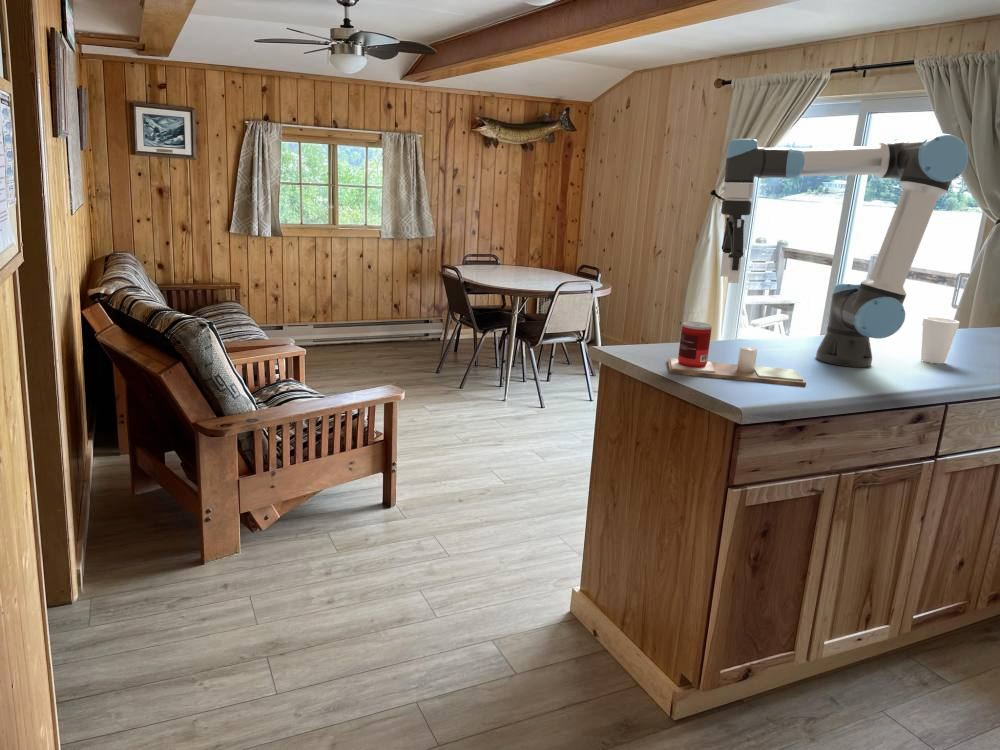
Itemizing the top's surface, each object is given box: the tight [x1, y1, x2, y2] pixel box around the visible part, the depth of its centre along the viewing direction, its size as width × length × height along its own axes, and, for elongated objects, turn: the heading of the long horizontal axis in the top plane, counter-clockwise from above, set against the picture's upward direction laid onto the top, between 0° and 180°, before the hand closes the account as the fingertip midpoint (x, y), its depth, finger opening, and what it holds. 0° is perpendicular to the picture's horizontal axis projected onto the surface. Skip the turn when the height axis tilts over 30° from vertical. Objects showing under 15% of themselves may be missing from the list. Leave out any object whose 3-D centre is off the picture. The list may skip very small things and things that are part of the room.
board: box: [667, 357, 807, 387], centre depth 199 cm, size 34×14×1 cm, turn 80°
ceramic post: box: [737, 346, 758, 373], centre depth 197 cm, size 4×4×6 cm
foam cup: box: [920, 316, 960, 364], centre depth 226 cm, size 10×9×13 cm
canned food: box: [677, 321, 712, 368], centre depth 199 cm, size 8×8×11 cm
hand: (729, 279), depth 204 cm, fingers open, 13 cm apart
